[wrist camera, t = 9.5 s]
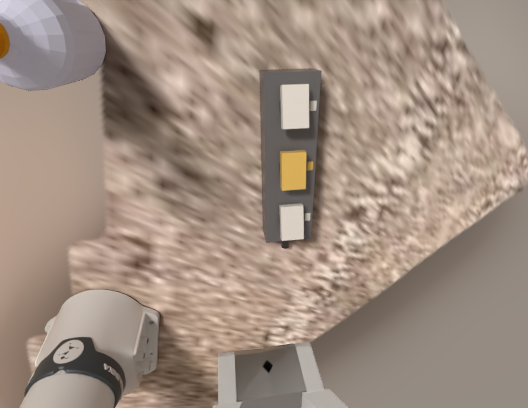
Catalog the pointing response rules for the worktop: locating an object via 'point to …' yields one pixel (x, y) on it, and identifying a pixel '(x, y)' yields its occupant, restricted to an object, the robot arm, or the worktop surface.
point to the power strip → (286, 148)
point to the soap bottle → (48, 43)
